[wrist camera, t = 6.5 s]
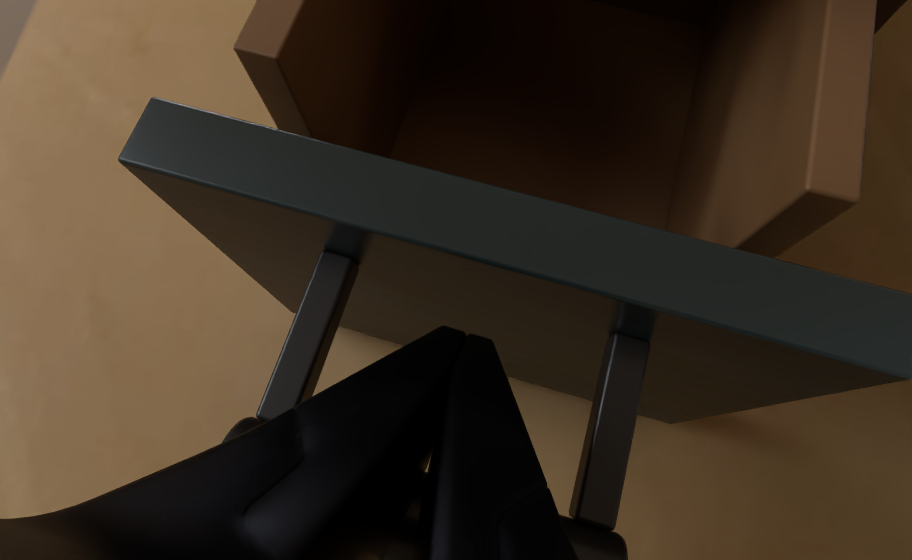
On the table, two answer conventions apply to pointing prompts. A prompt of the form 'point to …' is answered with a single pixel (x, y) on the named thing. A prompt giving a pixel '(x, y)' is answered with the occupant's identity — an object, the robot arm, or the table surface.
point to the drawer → (551, 201)
